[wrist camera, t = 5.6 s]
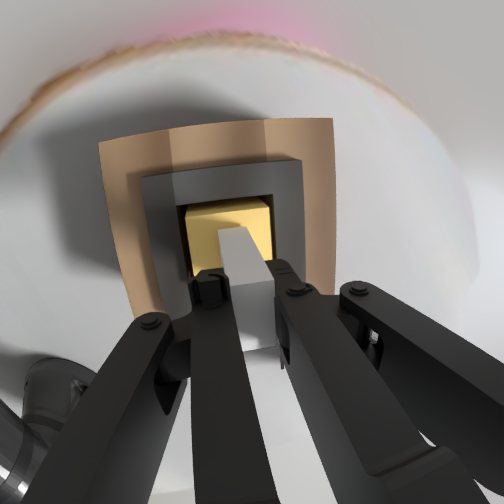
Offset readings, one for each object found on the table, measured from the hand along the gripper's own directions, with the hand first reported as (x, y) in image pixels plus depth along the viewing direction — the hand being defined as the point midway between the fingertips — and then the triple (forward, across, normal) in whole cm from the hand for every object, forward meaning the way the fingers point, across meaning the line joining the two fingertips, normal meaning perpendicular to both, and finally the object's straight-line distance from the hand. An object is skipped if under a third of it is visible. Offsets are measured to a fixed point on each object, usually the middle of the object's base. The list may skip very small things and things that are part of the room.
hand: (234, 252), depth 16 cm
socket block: (+12, 0, 0) cm, 12 cm away
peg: (+9, 0, 0) cm, 9 cm away
